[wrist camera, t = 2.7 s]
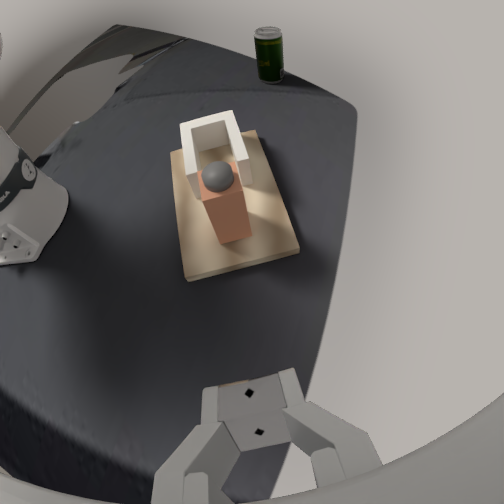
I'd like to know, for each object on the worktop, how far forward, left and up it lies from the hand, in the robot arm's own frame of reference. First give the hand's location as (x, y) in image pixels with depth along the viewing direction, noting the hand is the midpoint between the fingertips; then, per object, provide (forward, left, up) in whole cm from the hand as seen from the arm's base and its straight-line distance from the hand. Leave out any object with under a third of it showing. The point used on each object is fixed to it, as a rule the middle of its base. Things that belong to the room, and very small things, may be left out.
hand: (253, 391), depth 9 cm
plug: (0, +19, -21) cm, 28 cm away
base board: (0, +25, -23) cm, 34 cm away
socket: (0, +30, -21) cm, 37 cm away
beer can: (+15, +54, -23) cm, 61 cm away
